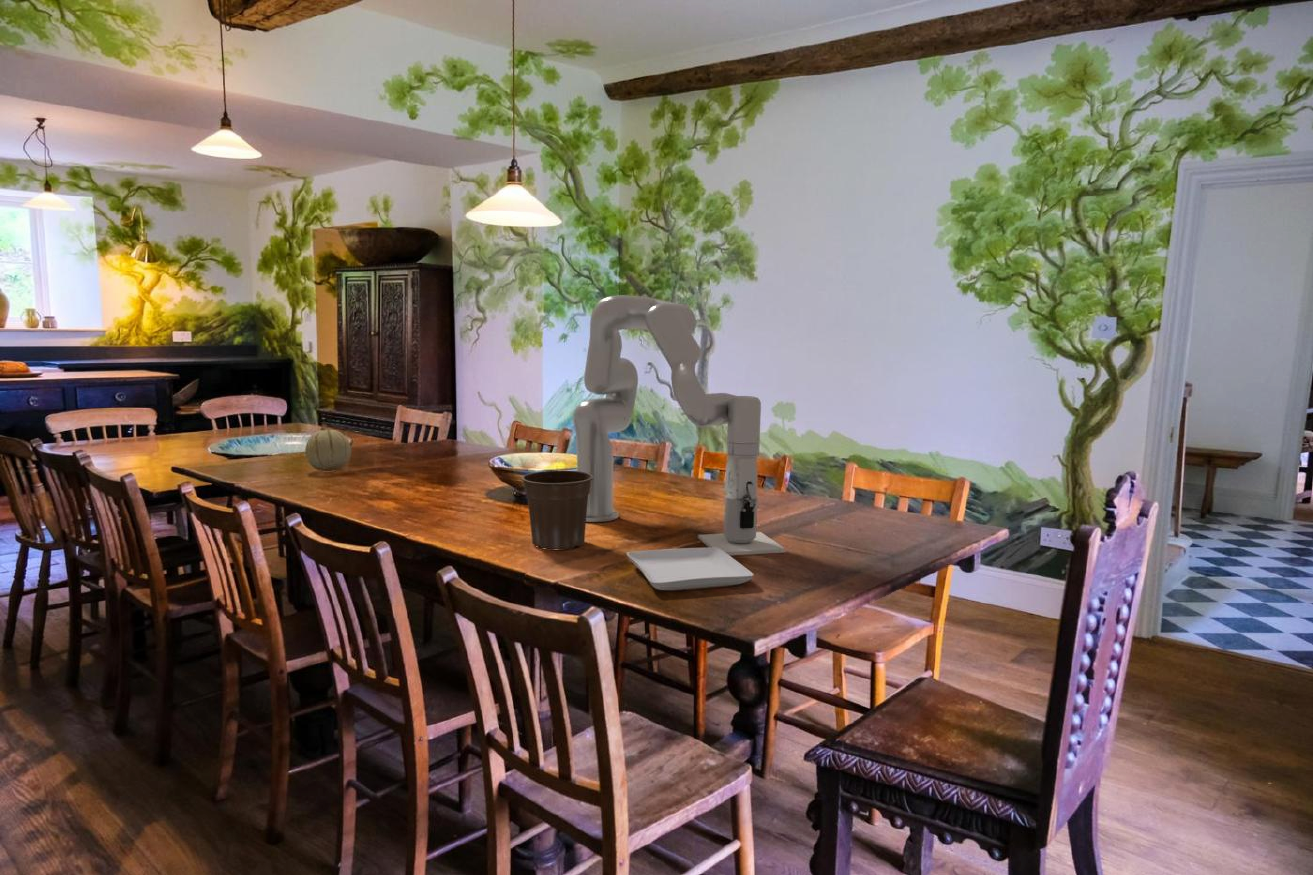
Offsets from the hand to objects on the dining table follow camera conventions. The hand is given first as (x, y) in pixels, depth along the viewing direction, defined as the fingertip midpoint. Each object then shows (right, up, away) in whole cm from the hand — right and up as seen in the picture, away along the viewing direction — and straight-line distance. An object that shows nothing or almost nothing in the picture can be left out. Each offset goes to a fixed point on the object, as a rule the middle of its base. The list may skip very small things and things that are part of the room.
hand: (740, 523), depth 190 cm
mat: (0, -5, +1) cm, 5 cm away
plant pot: (-43, -5, -1) cm, 43 cm away
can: (0, -4, +1) cm, 4 cm away
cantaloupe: (-132, +8, +88) cm, 158 cm away
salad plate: (-13, -9, -24) cm, 29 cm away
